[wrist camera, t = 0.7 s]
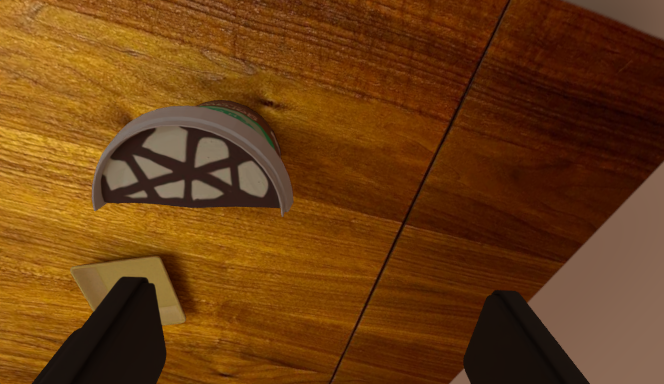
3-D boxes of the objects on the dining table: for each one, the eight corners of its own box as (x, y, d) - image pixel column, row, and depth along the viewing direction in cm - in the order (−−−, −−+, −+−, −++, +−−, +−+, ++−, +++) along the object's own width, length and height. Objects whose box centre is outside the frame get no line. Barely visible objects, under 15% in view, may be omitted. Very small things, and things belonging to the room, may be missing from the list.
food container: (299, 89, 27) (293, 119, 18) (298, 160, 30) (291, 217, 21) (142, 80, 26) (54, 107, 17) (155, 154, 29) (84, 210, 20)
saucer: (193, 308, 37) (186, 323, 35) (115, 317, 37) (104, 333, 35) (168, 243, 33) (159, 256, 31) (81, 254, 33) (67, 267, 31)
